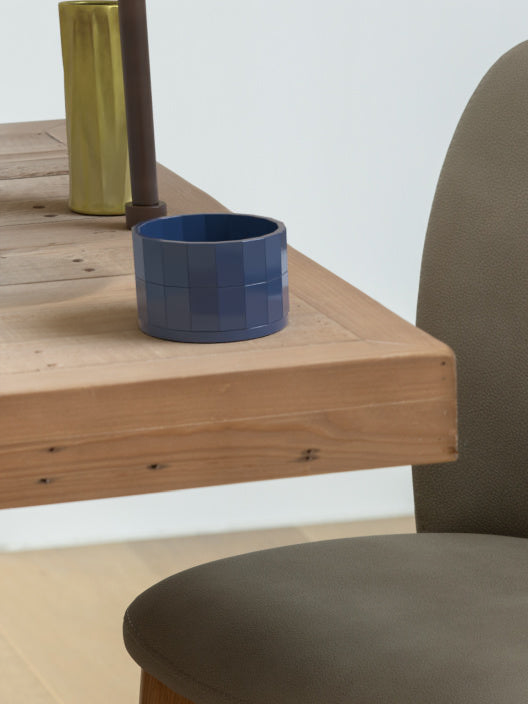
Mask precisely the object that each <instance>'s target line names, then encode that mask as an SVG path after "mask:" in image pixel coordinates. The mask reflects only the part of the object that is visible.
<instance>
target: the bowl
mask: <svg viewBox="0 0 528 704" xmlns="http://www.w3.org/2000/svg"><path fill="white" fill-rule="evenodd" d="M130 230H131V242H132V243H131V244H132V254H133V255H132V256H133V269H134V284H135V297H136V310H137V311H136V312H137V321H138V322H137V323H138V327H139V329H140V331H141V332H143V333H145V334H146V335H149V336H151V337H155V338H157V339H161V340H165V341H166V340H167V341H172V342H182V343H195V344H196V343H197V344H198V343H199V344H201V343H203V344H207V343H208V344H212V343H213V344H215V343H229V342H230V343H231V342H240V341H247V340H252V339H253V340H254V339H259V338H261V337H266V336H269V335H272V334H275V333H277V332H280V331H281V330H283V329H284V328H286V327H287V325H288V324H289V322H290V318H289V317H290V316H289V313H290V292H289V291H290V290H289V266H288V265H289V263H288V262H289V261H288V235H287V234H288V233H287V227H286V225H285V223H284V222H283V221H281V220H278V219H275V218H273V217H270V216H264V215H258V214H252V213H238V212H193V213H180V214H172V215H171V214H170V215H167V216H164V217H157V218H153V219H150V220H146V221H142V222H140V223H138V224H136V225H135V226H133V227H132V228H131V229H130Z"/></svg>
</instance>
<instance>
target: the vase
mask: <svg viewBox="0 0 528 704" xmlns="http://www.w3.org/2000/svg"><path fill="white" fill-rule="evenodd" d="M57 10H58V22H59V23H58V24H59V34H60V36H59V37H60V48H61V62H62V68H63V90H64V91H63V93H64V94H63V95H64V113H65V130H66V131H65V132H66V141H67V142H66V145H67V157H68V158H67V160H68V178H69V180H68V183H69V184H68V185H69V186H68V187H69V188H68V202H67V205H68V208H69V209H70V210H71V211H72V212H75V213H78V214H84V215H91V216H121V215H122V216H123V215H125V203H127V202H130V201H132V196H131V182H130V168H129V154H128V140H127V126H126V112H125V98H124V84H123V70H122V56H121V42H120V29H119V15H118V1H117V0H64V1H59V2H58V3H57Z"/></svg>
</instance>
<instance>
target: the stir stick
mask: <svg viewBox="0 0 528 704" xmlns="http://www.w3.org/2000/svg"><path fill="white" fill-rule="evenodd" d="M117 1H118V15H119V29H120V42H121V56H122V70H123V84H124V98H125V112H126V126H127V140H128V154H129V168H130V182H131V196H132V201H130V202H127V203H125V214H124V215H125V225H126V228H127V229H129V230H131V228H132V227H133V226H135V225H136V224H138V223H140V222H142V221H146V220H150V219H153V218H157V217H164V216H168V207H167V206H168V205H167V202H165V201H163V200H159V199H160V198H159V184H158V183H159V182H158V169H157V168H158V167H157V153H156V139H155V138H156V137H155V122H154V108H153V106H154V105H153V92H152V90H153V89H152V76H151V64H150V63H151V60H150V48H149V47H150V46H149V31H148V15H147V2H146V1H147V0H117Z"/></svg>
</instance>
